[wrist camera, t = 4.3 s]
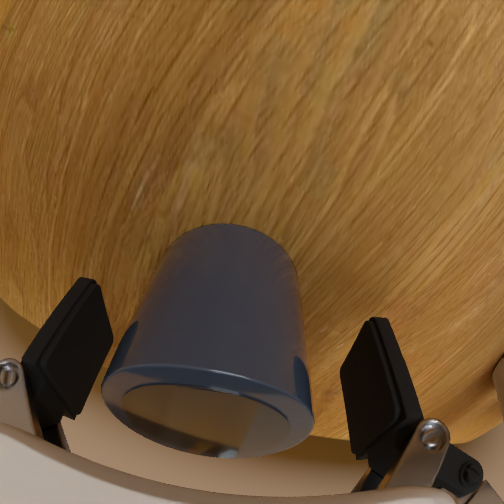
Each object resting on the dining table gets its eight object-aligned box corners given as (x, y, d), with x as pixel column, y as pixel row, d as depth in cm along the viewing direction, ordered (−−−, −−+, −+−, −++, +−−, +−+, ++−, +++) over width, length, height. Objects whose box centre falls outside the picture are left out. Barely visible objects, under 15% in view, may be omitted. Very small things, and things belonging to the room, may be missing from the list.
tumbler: (164, 324, 13) (126, 440, 8) (156, 214, 10) (70, 341, 5) (283, 340, 13) (287, 463, 8) (312, 234, 10) (349, 381, 5)
